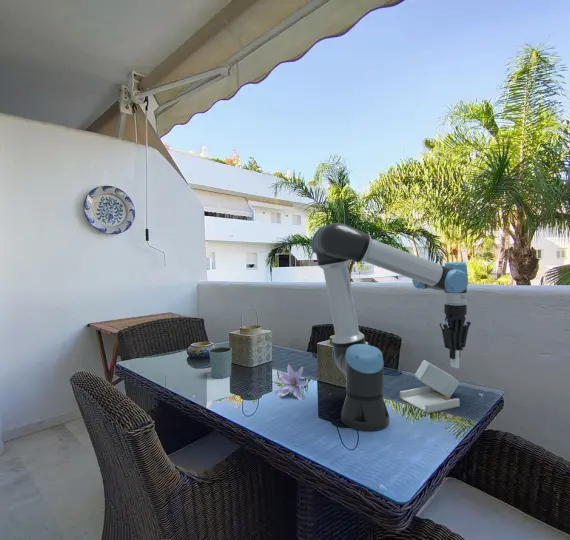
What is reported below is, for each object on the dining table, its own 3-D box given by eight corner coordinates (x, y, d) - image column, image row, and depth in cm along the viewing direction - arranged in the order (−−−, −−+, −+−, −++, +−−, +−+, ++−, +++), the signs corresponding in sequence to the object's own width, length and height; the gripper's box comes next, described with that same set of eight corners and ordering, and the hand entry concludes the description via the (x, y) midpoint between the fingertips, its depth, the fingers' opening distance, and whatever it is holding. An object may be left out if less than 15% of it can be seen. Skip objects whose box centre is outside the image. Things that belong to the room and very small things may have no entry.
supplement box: (460, 381, 134) (429, 363, 135) (449, 399, 134) (418, 380, 135) (452, 375, 141) (423, 358, 142) (442, 392, 142) (413, 375, 143)
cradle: (427, 413, 123) (427, 406, 123) (399, 398, 137) (399, 391, 136) (459, 406, 128) (459, 399, 128) (429, 392, 142) (429, 385, 142)
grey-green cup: (234, 372, 170) (234, 346, 169) (229, 379, 160) (228, 352, 159) (213, 372, 171) (212, 346, 170) (206, 379, 161) (205, 352, 160)
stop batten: (455, 405, 129) (455, 402, 129) (430, 393, 140) (430, 390, 140) (457, 404, 130) (457, 401, 129) (432, 393, 141) (432, 390, 141)
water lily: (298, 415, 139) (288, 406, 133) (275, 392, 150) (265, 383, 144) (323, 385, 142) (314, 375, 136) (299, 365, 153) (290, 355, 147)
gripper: (449, 306, 130) (449, 372, 131) (477, 304, 134) (476, 367, 135) (434, 303, 137) (433, 366, 138) (460, 301, 141) (459, 362, 142)
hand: (454, 367), depth 136 cm, fingers closed
